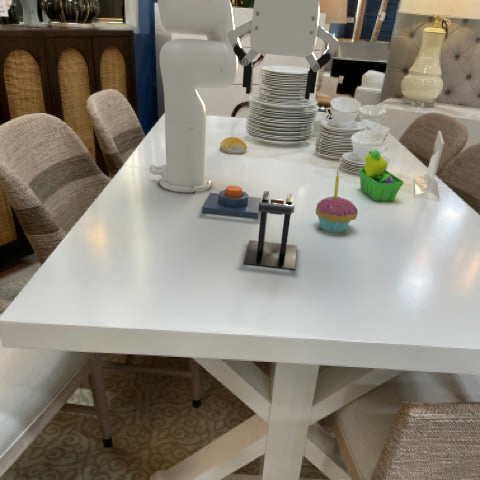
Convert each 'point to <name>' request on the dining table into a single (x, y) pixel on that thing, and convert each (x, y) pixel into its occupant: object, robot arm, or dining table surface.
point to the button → (233, 191)
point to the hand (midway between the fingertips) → (277, 95)
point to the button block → (232, 205)
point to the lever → (275, 207)
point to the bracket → (272, 244)
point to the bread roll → (233, 145)
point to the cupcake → (335, 211)
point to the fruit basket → (378, 178)
